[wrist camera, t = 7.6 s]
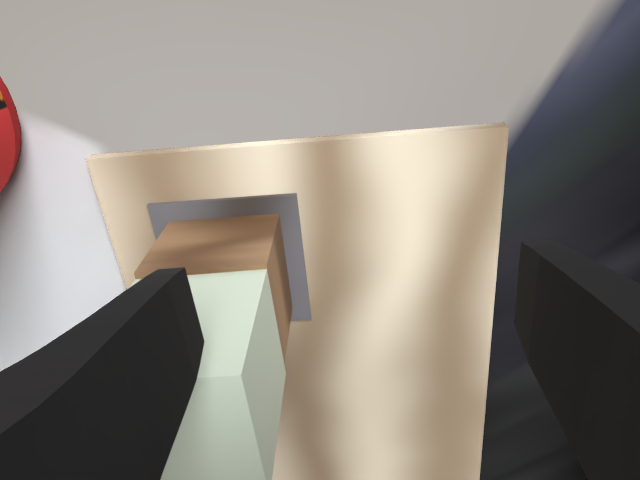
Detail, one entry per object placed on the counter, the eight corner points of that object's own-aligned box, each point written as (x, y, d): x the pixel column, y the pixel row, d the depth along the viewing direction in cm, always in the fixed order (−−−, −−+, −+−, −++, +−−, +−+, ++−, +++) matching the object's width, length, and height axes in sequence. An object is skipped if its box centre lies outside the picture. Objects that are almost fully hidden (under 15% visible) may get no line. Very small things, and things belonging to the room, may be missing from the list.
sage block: (267, 269, 17) (240, 375, 12) (285, 373, 19) (269, 495, 14) (135, 279, 17) (63, 385, 13) (167, 380, 19) (116, 502, 15)
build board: (504, 122, 19) (510, 128, 18) (476, 479, 28) (479, 492, 28) (92, 154, 20) (83, 161, 19) (194, 487, 29) (190, 500, 29)
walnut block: (279, 213, 20) (266, 264, 17) (292, 306, 22) (283, 369, 19) (169, 221, 21) (133, 273, 17) (192, 312, 23) (164, 375, 19)
